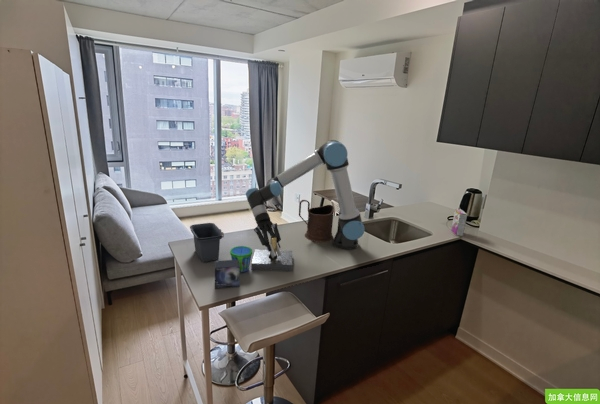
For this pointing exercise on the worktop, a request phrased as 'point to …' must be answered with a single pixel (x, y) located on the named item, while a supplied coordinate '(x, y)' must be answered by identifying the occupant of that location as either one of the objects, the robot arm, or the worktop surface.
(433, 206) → the worktop surface
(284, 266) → the plate
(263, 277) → the worktop surface
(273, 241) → the brass pin
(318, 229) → the brown metal pitcher
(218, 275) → the small box
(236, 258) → the snack cup
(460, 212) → the candy bar box
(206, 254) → the storage bin
